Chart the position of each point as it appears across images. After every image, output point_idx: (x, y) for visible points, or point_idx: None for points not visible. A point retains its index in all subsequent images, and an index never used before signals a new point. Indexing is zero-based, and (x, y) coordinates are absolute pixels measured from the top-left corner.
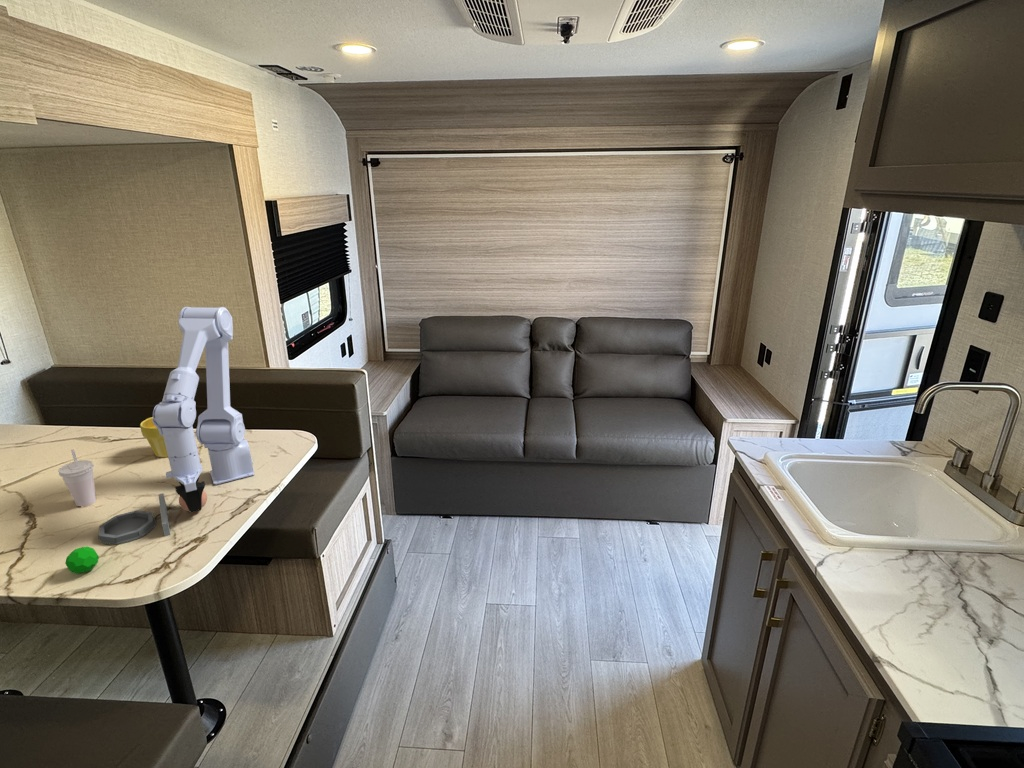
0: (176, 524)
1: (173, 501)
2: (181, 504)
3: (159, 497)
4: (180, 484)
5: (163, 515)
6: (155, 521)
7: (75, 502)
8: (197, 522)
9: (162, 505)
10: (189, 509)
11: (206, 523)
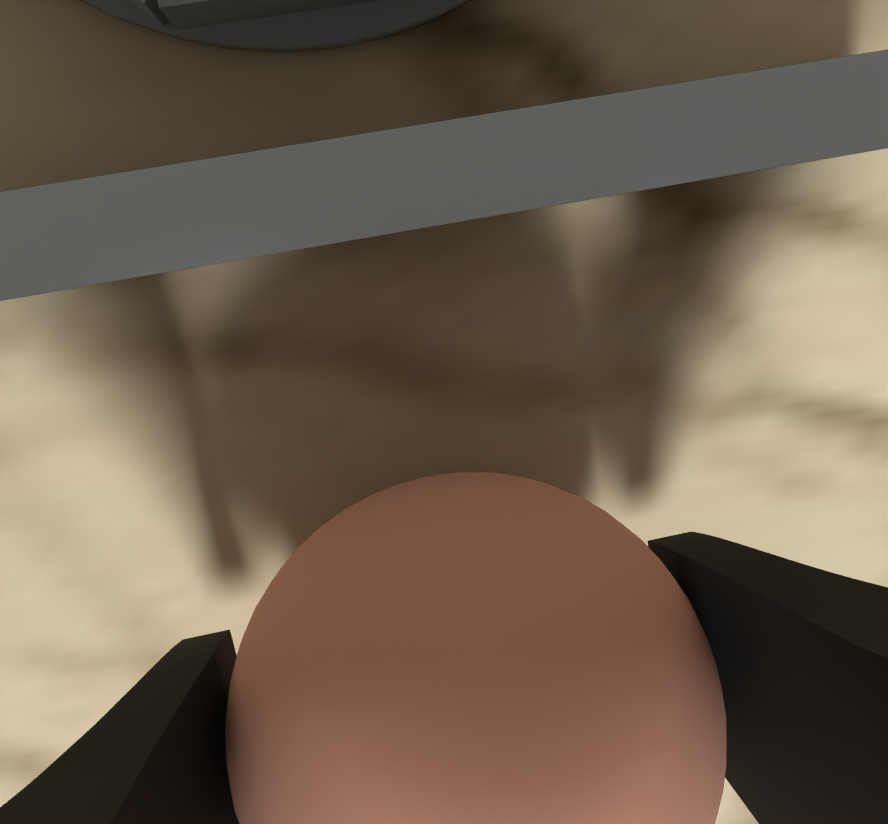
0: (142, 370)
1: (881, 245)
2: (308, 556)
3: (879, 64)
4: (858, 654)
5: (33, 236)
6: (306, 40)
7: None
8: (95, 649)
9: (500, 164)
10: (149, 674)
11: (21, 765)
